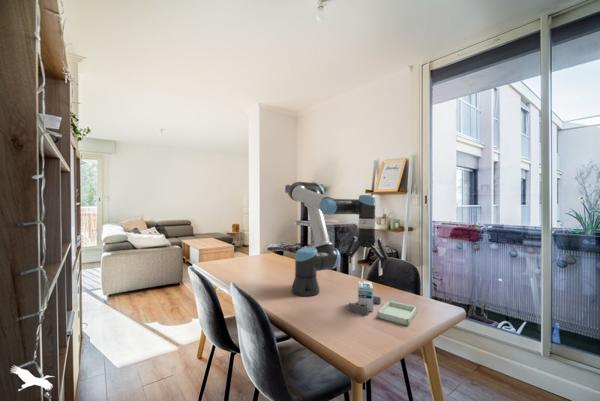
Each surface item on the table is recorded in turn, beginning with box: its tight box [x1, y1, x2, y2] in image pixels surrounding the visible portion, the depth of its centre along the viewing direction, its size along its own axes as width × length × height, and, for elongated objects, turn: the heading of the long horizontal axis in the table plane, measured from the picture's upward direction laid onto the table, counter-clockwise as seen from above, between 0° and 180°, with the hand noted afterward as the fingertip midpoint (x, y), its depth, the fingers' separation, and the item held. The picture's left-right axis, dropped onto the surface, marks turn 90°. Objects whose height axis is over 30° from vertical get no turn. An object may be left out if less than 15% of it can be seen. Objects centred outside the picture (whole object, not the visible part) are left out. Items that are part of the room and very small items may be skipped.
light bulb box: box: [357, 280, 374, 313], centre depth 127 cm, size 11×7×11 cm, turn 168°
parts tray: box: [376, 300, 418, 327], centre depth 118 cm, size 13×17×2 cm
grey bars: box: [348, 295, 382, 316], centre depth 127 cm, size 9×17×3 cm, turn 145°
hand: (366, 272), depth 126 cm, fingers open, 13 cm apart
